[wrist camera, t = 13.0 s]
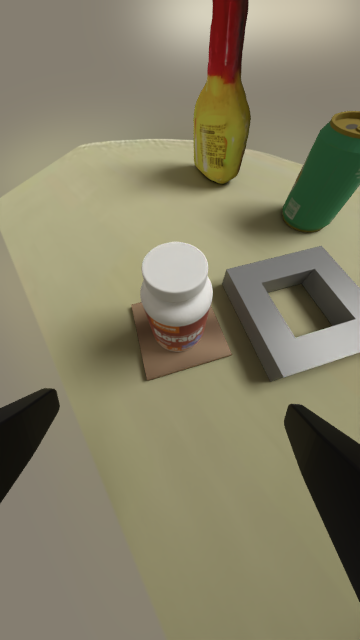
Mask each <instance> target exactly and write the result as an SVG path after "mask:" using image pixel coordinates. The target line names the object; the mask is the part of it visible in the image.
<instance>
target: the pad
mask: <svg viewBox="0 0 360 640" xmlns="http://www.w3.org/2000/svg"><path fill="white" fill-rule="evenodd" d="M132 310H133V315H134V320H135V325H136V329H137V334H138V339H139V344H140V349H141V354H142V358H143V363H144V368H145V373H146V378H147V380H148V381H149V380H152V379H155V378H159V377H162V376H165V375H169V374H172V373H175V372H178V371H182V370H185V369H188V368H191V367H195V366H198V365H201V364H205V363H208V362H211V361H214V360H218V359H221V358H224V357H227V356H231V355H232V353H231V351H230V348H229V346H228V344H227V341H226V339H225V337H224V334H223V332H222V330H221V328H220V325H219V323H218V321H217V318H216V316H215V314H214V311H213V309H212V307H211V306H210V310H209V313H208V317H207V321H206V325H205V329H204V332H203V335H202V338H201V339H200V341H199V342H198V343H197V344H196V345H195V346H194V347H192V348H191V349H189V350H186V351H182V352H175V351H170V350H167V349H165V348H164V347H162V346H161V345H160V344H159V343H158V342H157V340H156V339H155V337H154V334H153V332H152V329H151V326H150V324H149V321H148V318H147V316H146V313H145V310H144V308H143V305H142V302H140V303H136V304H132Z"/></svg>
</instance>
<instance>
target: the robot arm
mask: <svg viewBox="0 0 360 640" xmlns="http://www.w3.org/2000/svg"><path fill="white" fill-rule="evenodd" d="M59 407H60V405H59V400H58V396H57V391H56V390H55V389H51V388H44V389H41V390H39V391H37V392H34V393H33V394H30V395H28V396H26V397H24V398H22V399H19V400H17V401H15V402H13V403H11V404H9V405H6V406H4V407H2V408H0V503H1V502H2V500H3V499H4V497H5V496H6V494H7V493H8V491H9V490H10V489H11V487H12V486H13V484H14V483H15V481H16V480H17V478H18V477H19V475H20V474H21V472H22V471H23V469H24V468H25V466H26V465H27V463H28V462H29V461H30V459H31V457H32V456H33V454H34V452H35V451H36V450H37V448H38V446H39V444H40V443H41V441H42V439H43V438H44V436H45V434H46V432H47V431H48V429H49V427H50V425H51V424H52V422H53V420H54V418H55V417H56V415H57V413H58V411H59ZM284 426H285V429H286V432H287V435H288V438H289V441H290V443H291V446H292V449H293V452H294V455H295V457H296V460H297V463H298V466H299V469H300V471H301V474H302V476H303V478H304V481H305V483H306V485H307V488H308V490H309V492H310V494H311V496H312V499H313V501H314V503H315V505H316V507H317V510H318V512H319V514H320V516H321V518H322V520H323V523H324V525H325V527H326V529H327V531H328V534H329V536H330V538H331V540H332V542H333V545H334V547H335V549H336V551H337V553H338V556H339V558H340V560H341V562H342V564H343V567H344V569H345V571H346V573H347V575H348V578H349V580H350V582H351V584H352V586H353V589H354V591H355V593H356V595H357V597H358V600H359V602H360V444H359V443H357V442H356V441H354V440H353V439H352V438H350V437H349V436H347V435H346V434H344V433H343V432H341V431H340V430H338V429H337V428H335V427H334V426H332V425H331V424H329V423H328V422H327V421H325V420H324V419H322V418H321V417H319V416H318V415H316V414H315V413H313V412H312V411H310V410H309V409H307V408H306V407H304V406H303V405H300V404H290V405H289V406H288V408H287V412H286V416H285V419H284Z"/></svg>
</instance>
